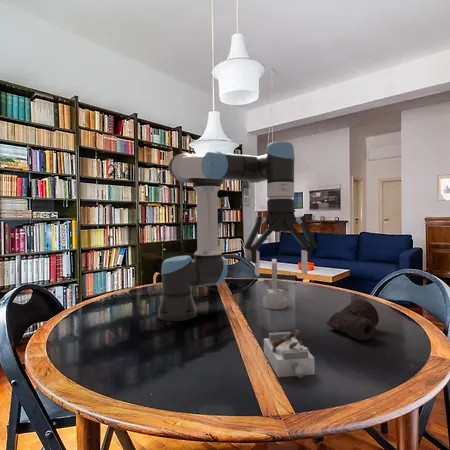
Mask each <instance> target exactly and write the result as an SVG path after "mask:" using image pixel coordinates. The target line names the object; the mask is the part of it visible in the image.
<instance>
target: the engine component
mask: <svg viewBox="0 0 450 450" xmlns="http://www.w3.org/2000/svg"><path fill="white" fill-rule="evenodd" d="M271 284H272V287H271V288H270V289H266V291H265V293H264V297H263V303H262V304H263V307H264V308H265V309H270V310H283V309H285V308H287V305H288V303H287V301H288V300H287V297H286V295H285V290H284V289H279V288H278V259H277V258H272V259H271Z"/></svg>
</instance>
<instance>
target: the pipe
mask: <svg viewBox="0 0 450 450" xmlns="http://www.w3.org/2000/svg"><path fill="white" fill-rule="evenodd" d="M379 321H380V316H379V313H378V310H377V309H376V308H375V306H374V305H373V304H372V303H371V302H370V301H368V300H365V299H362V298H361V299H359V298H358V299H357V298H356V299H354V300H352V301H351V302H350V303H349V304H348V305H346V306H345V307H344V308H343V309H340V311H337V312H335V313H334V314H332V315H331V316H330V318H329V319H328V321H327V322H326V325H327V326H329V327H330V328H331V329H333V330H336V331H338V332H341V333H344V334H347V335H348V336H349V337H350V338H353V339H355V340H357V341H363V342H364V341H365V342H366V341H369V340H371V339H372V338H373V335H374V333H375V330H376V326H377V325H378V323H379Z"/></svg>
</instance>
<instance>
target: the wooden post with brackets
mask: <svg viewBox="0 0 450 450" xmlns="http://www.w3.org/2000/svg"><path fill="white" fill-rule="evenodd" d="M290 333H291V334H289V335H287V336H285V337H283V338H282V339H280V340H278V341H275V342H272V341H271V344H272V346H273V348H274V349H275V350H276V347H278V346H279V345H280V344H282V343H283V342H286V341H288V340H290V338H292V337H293V338H295V337H296V338H295V339H297V340H298V342H296V343H294V342H293V343H292V344H290V346H289V348H291V347H292V348H293V347H295V346H296V344H298V343H299V344H300V345H301V346H302V345H303V346H304V344H303V342H302V340H301V339H300V336H299V334H300V329H293V330H292V331H291V332H290Z"/></svg>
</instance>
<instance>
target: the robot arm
mask: <svg viewBox="0 0 450 450" xmlns="http://www.w3.org/2000/svg"><path fill="white" fill-rule="evenodd" d="M294 147H295V146H294V145H293V143H291V142H289V141H274V142H270V143H268V145H267V147H266V151H265V152H266V153H265V154H263V155H249V154H237V153H231V152H230V153H227V152H221V151H207V152H206V153H205V154H195V153H194V154H193V153H180V154H177V155H174V156H173V157H172V158H171V159H170V161H169V163H168V172H169V174H170V175H171V177H172V178H173V179H175V180H177V181H179V182H181V183H187V184H192V189H193V190H194V191H195V192H196V224H197V225H196V231H197V232H196V235H197V239H196V240H197V242H196V244H197V246H196V247H197V248H196V249H197V250H196V251H195V252H194V253H193V258H192V257H191V256H190V255H179V256H178V255H177V256H172V257H169V258H166V259H164V260H163V261H162V263H161V292H162V293H161V301H160V304H159V307H158V311H157V317H158V319H159V320H161V321H165V322H180V321H181V322H183V321H188V320H191V319H194V318H196V317H197V307H196V304H195V300H194V298H193V295H192V294H193V293H192V288H193V289H194V288H200V287H209V286H210V287H213V286H215V285H220V284H223V283H224V281H225V279H226V278H227V275H228V262H227V260H226V258H225V257H224V256H222V252H221V251H220V250H219V237H218V236H219V231H218V229H219V228H218V227H219V225H218V224H219V223H218V221H219V219H218V214H219V213H218V192H219V191H220V190H221V187H222V186H221V185H223V184H225V181H226V180H227V181H228V180H231V181H232V180H233V181H243V182H244V181H246V182H247V183H250V184H252V183H257V184H258V183H261V182H265V181H266V184H267V186H266V197H267V198H268V200H266V203H267V205H266V213H267V215H266V216H261V215H257V216H256V217H255V224H254V226H253V228H252V230H251V232H250V235H249V236H248V238H247V240H246V243H245V245H244V249H246V250H248V251H250V255H251V256H250V258H251V260H250V261H251V263H252V264H254V275H255V276H257V277H259V276H260V251H258V250H259V248H260V247H261V246H262V245H263V244H264V242H265V241H266V240H267V239H268V237H269V236H270V235H271V234H272V233H273V232H274V233H281V232H283V233H287V232H289V233H290V235H292V236H293V237H294V239H295V240H296V241H297V242H298V243H299V244H300V246H301V247H302V248H303V250H301V255H300V256H301V259H300V260H301V264H300V265H301V274H303V275H308V263H310V262H311V251H313V250H314V249H317V247H318V244H317V242H316V240H315V238H314V236H313V234H312V232H311V229H310V228H309V226H308V223H307V217H306V216H305V215H299V216H296V215H295V200H294V199H293V198H294V197H295V158H296V157H295V149H294ZM265 222H266V224H267V225H268V226H267V227H266V229H264V231H263V233H262V234H261V235H260V236H259V237H258V239H257V240H256V241H255V239H256V238H257V235H258V233H259V230H260V228H261V226H262V225H263V224H264V223H265ZM296 222H297V224H299V226H300V228H301V229H300V230H301V231H302V232H303V234H304V235H303V236H304V237H305V239H306V240H305V239H304V238H303V236H302V235H301V234H300V232H298V229H297V228H296V227H295V226H294V225H295V223H296ZM253 243H254V244H253Z"/></svg>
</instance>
